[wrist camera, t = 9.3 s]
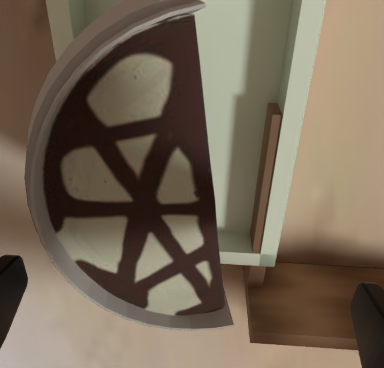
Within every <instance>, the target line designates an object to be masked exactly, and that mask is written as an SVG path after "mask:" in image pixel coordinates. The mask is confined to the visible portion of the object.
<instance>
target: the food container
mask: <svg viewBox="0 0 384 368" xmlns="http://www.w3.org/2000/svg"><path fill="white" fill-rule="evenodd" d="M205 7H206V4H205V3H204V2H202V1H200V0H124V1H122V2H121V3H119V4H118V5H116V6H115V7H113V8H112V9H110V10H109V11H107V12H106V13H104V14H103V15H101V16H100V17H98V18H97V19H95V20H94V21H93V22H92V23H91V24H90V25H89V26H88V27H87V28H85V29H84V30H83V31H82V32H81V33H80V34H79V35H78V36H77V37H76V38H75V39H74V40H73V41H72V42H71V43H70V44H69V45H68V46H67V48H66V49H65V50H64V52H63V53H62V55H61V56H60V57H59V59H58V60H57V62H56V63H55V64H54V66H53V67H52V68H51V70H50V71H49V73H48V75H47V77H46V79H45V82H44V84H43V86H42V88H41V90H40V92H39V94H38V96H37V98H36V101H35V105H34V108H33V112H32V116H31V120H30V124H29V128H28V137H27V151H26V165H25V185H26V193H27V201H28V207H29V210H30V213H31V216H32V219H33V222H34V225H35V228H36V231H37V233H38V235H39V237H40V240H41V243H42V244H43V246H44V248H45V250H46V252H47V254H48V255H49V257H50V259H51V261H52V263H53V264H54V265H55V267H56V268H57V269H58V270H59V272H60V273H61V274H62V275H63V277H64V278H65V279H66V280H67V281H68V282H69V283H70V284H71V285H72V286H73V287H74V288H75V289H76V290H78V291H79V292H80V293H81V294H82V295H83V296H84V297H86V298H87V299H89V300H90V301H92V302H93V303H95V304H96V305H98V306H100V307H101V308H103V309H104V310H106V311H108V312H111V313H113V314H115V315H117V316H119V317H122V318H124V319H126V320H130V321H133V322H136V323H140V324H143V325H146V326H151V327H157V328H163V329H169V330H186V331H196V330H213V329H220V328H226V327H233V326H234V324H233V320H232V317H231V313H230V310H229V306H228V303H227V299H226V296H225V292H224V289H223V283H222V275H221V264H220V253H219V243H218V232H217V219H216V205H215V195H214V187H213V179H212V171H211V163H210V154H209V144H208V135H207V125H206V115H205V106H204V96H203V87H202V77H201V67H200V58H199V49H198V41H197V32H196V23H195V14H192V13H194V12H196V11H198V10H201V9H203V8H205Z"/></svg>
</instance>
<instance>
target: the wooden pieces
mask: <svg viewBox="0 0 384 368" xmlns="http://www.w3.org/2000/svg"><path fill="white" fill-rule="evenodd" d="M282 117H283V114H282V112H281V110H280V108H279V106H278V104H277V103H268V105H267V113H266V120H265V127H264V134H263V142H262V149H261V156H260V163H259V171H258V178H257V185H256V193H255V200H254V207H253V214H252V222H251V229H250V238H251V246H252V253H260V252H261V246H262V240H263V234H264V228H265V222H266V216H267V209H268V203H269V197H270V191H271V185H272V179H273V173H274V166H275V160H276V154H277V148H278V142H279V136H280V130H281V123H282ZM243 271H244V282H245V293H246V304H247V315H248V326H249V336H250V343H262V344H276V345H291V346H305V347H320V348H334V349H349V350H358V346H357V342H356V337H355V332H354V327H353V323H352V318H351V313H350V303H351V300H352V298H353V295H354V292H355V290H356V287H357V285H358V283H360V282H373V283H377V284H378V285H380V286H381V287H382V288H383V289H384V269H380V268H363V267H346V266H329V265H313V264H296V263H279V262H275V266H274V267H268V266H252V265H244V270H243Z"/></svg>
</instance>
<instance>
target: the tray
mask: <svg viewBox="0 0 384 368" xmlns="http://www.w3.org/2000/svg"><path fill="white" fill-rule="evenodd" d="M122 1H124V0H46V6H47V12H48V18H49V24H50V30H51V35H52V41H53V47H54V53H55V59H56V62H57V60H58V59H59V57H60V56H61V55H62V53H63V52H64V50H65V49H66V48H67V46H68V45H69V44H70V43H71V42H72V41H73V40H74V39H75V38H76V37H77V36H78V35H79V34H80V33H81V32H82V31H83V30H84V29H85V28H87V27H88V26H89V25H90V24H91V23H92V22H93V21H94V20H95V19H97V18H98V17H100V16H101V15H103V14H104V13H106V12H107V11H109V10H110V9H112V8H113V7H115V6H116V5H118V4H119V3H121V2H122ZM200 1H202V2H204V3H205V4H206V7H205V8H203V9H201V10H198V11H196V12H194V13H192V14H195V23H196V32H197V41H198V49H199V58H200V67H201V77H202V87H203V96H204V106H205V115H206V125H207V135H208V144H209V154H210V163H211V171H212V179H213V187H214V195H215V205H216V219H217V232H218V243H219V253H220V264H235V265H252V266H268V267H274V266H275V261H276V256H277V251H278V246H279V241H280V236H281V230H282V225H283V220H284V215H285V210H286V205H287V200H288V195H289V190H290V184H291V179H292V174H293V169H294V164H295V159H296V154H297V149H298V143H299V138H300V133H301V128H302V123H303V118H304V113H305V108H306V103H307V97H308V92H309V87H310V82H311V77H312V72H313V67H314V62H315V56H316V51H317V46H318V41H319V36H320V31H321V26H322V21H323V16H324V10H325V5H326V0H200ZM268 103H277V104H278V106H279V108H280V110H281V112H282V114H283V117H282V123H281V130H280V136H279V142H278V148H277V154H276V160H275V166H274V173H273V179H272V185H271V191H270V197H269V203H268V209H267V216H266V222H265V228H264V234H263V240H262V246H261V252H260V253H252V246H251V238H250V229H251V222H252V214H253V207H254V200H255V193H256V185H257V178H258V171H259V163H260V156H261V149H262V142H263V134H264V127H265V120H266V113H267V105H268Z"/></svg>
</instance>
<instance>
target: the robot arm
mask: <svg viewBox="0 0 384 368" xmlns="http://www.w3.org/2000/svg"><path fill="white" fill-rule="evenodd" d="M27 283H28V277H27V273H26V270H25V266H24V263H23V259H22V258H21V257H20V256H18V255H4V256H2V257H0V348H1V346H2V344H3V342H4V340H5V338H6V336H7V334H8V331H9V329H10V327H11V324H12V322H13V319H14V317H15V314H16V312H17V309H18V307H19V304H20V302H21V299H22V297H23V294H24V292H25V289H26V287H27ZM350 313H351V318H352V323H353V327H354V332H355V337H356V342H357V346H358V351H359V356H360V360H361V365H362V368H384V289H383V288H382V287H381V286H380V285H378V284H377V283H373V282H360V283H358V285H357V287H356V290H355V292H354V295H353V298H352V300H351V303H350Z"/></svg>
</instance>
